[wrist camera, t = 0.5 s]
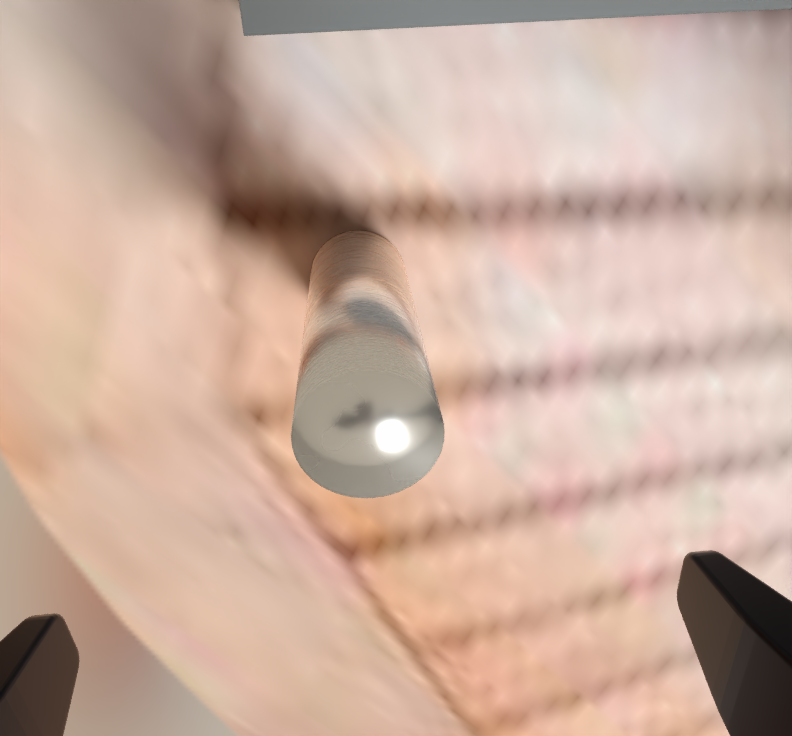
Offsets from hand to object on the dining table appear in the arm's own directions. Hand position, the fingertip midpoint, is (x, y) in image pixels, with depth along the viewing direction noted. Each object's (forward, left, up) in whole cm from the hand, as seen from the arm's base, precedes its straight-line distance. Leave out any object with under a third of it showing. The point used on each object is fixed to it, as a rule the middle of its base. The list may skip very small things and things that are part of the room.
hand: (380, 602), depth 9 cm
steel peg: (0, 0, -13) cm, 13 cm away
